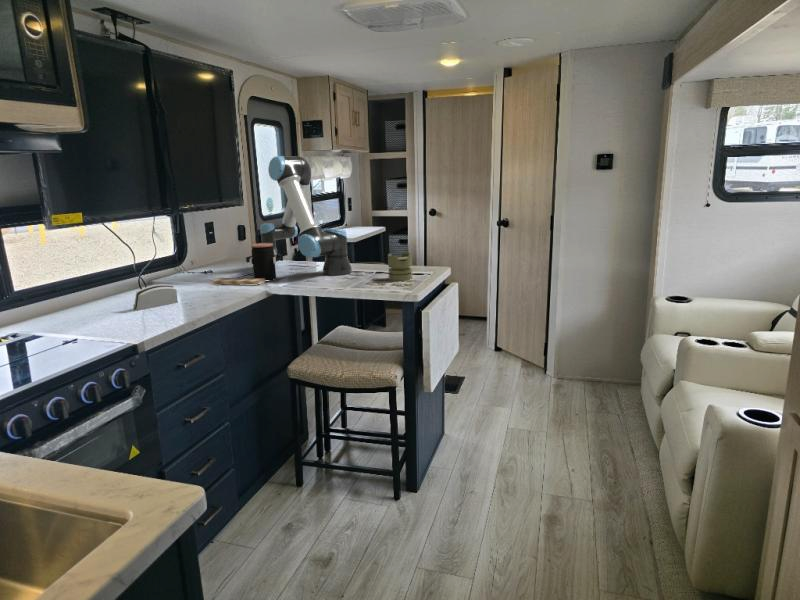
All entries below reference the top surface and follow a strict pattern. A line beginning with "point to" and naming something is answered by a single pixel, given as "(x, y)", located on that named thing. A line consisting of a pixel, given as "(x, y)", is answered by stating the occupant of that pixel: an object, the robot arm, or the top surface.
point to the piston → (400, 267)
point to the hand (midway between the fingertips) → (262, 261)
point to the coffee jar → (263, 261)
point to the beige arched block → (155, 297)
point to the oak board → (238, 281)
